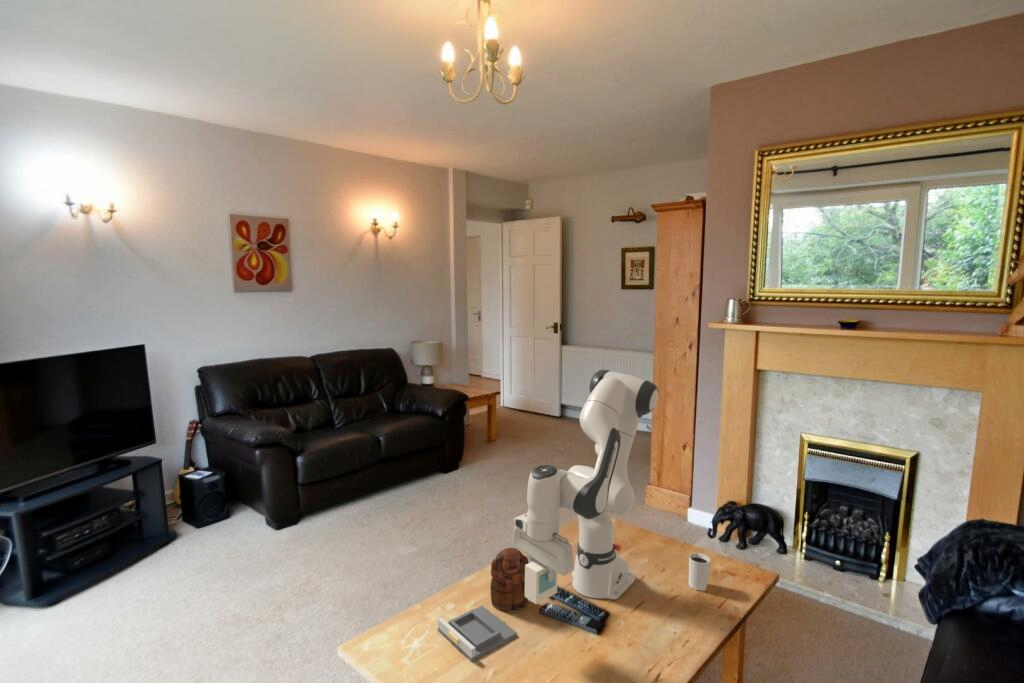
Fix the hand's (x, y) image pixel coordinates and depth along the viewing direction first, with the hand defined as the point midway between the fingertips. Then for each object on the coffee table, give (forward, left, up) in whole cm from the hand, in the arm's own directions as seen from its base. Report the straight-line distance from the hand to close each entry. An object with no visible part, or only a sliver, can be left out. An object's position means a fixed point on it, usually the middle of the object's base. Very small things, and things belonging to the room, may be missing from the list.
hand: (541, 575), depth 142 cm
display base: (+10, -15, -21) cm, 27 cm away
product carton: (0, 0, -6) cm, 6 cm away
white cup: (-61, +13, -21) cm, 66 cm away
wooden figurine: (-6, -19, -21) cm, 29 cm away
